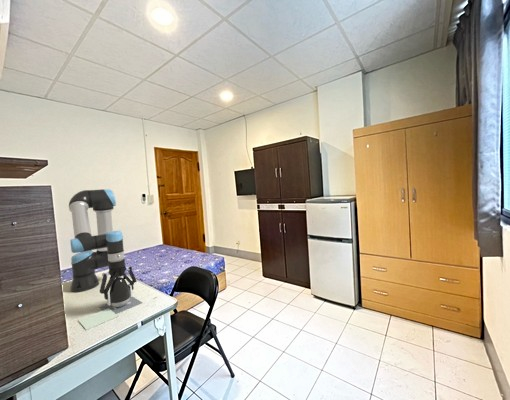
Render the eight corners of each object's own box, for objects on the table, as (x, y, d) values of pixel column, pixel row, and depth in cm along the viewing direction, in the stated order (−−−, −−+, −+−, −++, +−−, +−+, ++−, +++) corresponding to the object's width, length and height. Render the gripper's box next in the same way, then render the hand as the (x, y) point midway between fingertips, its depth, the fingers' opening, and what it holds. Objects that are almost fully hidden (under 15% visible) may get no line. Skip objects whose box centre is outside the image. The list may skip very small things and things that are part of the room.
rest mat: (78, 320, 110) (78, 320, 110) (108, 308, 120) (108, 308, 120) (86, 330, 102) (86, 329, 102) (118, 316, 112) (118, 315, 112)
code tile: (99, 307, 122) (98, 307, 122) (130, 295, 135) (130, 295, 135) (109, 316, 112) (109, 316, 112) (142, 302, 125) (142, 302, 125)
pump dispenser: (136, 300, 127) (133, 274, 126) (119, 310, 117) (116, 282, 116) (122, 299, 130) (119, 273, 129) (105, 308, 120) (102, 280, 119)
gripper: (93, 267, 111) (98, 311, 112) (141, 255, 129) (144, 293, 130) (89, 265, 116) (93, 307, 117) (135, 253, 133) (138, 290, 134)
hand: (120, 300), depth 123 cm, fingers closed on pump dispenser, 10 cm apart
